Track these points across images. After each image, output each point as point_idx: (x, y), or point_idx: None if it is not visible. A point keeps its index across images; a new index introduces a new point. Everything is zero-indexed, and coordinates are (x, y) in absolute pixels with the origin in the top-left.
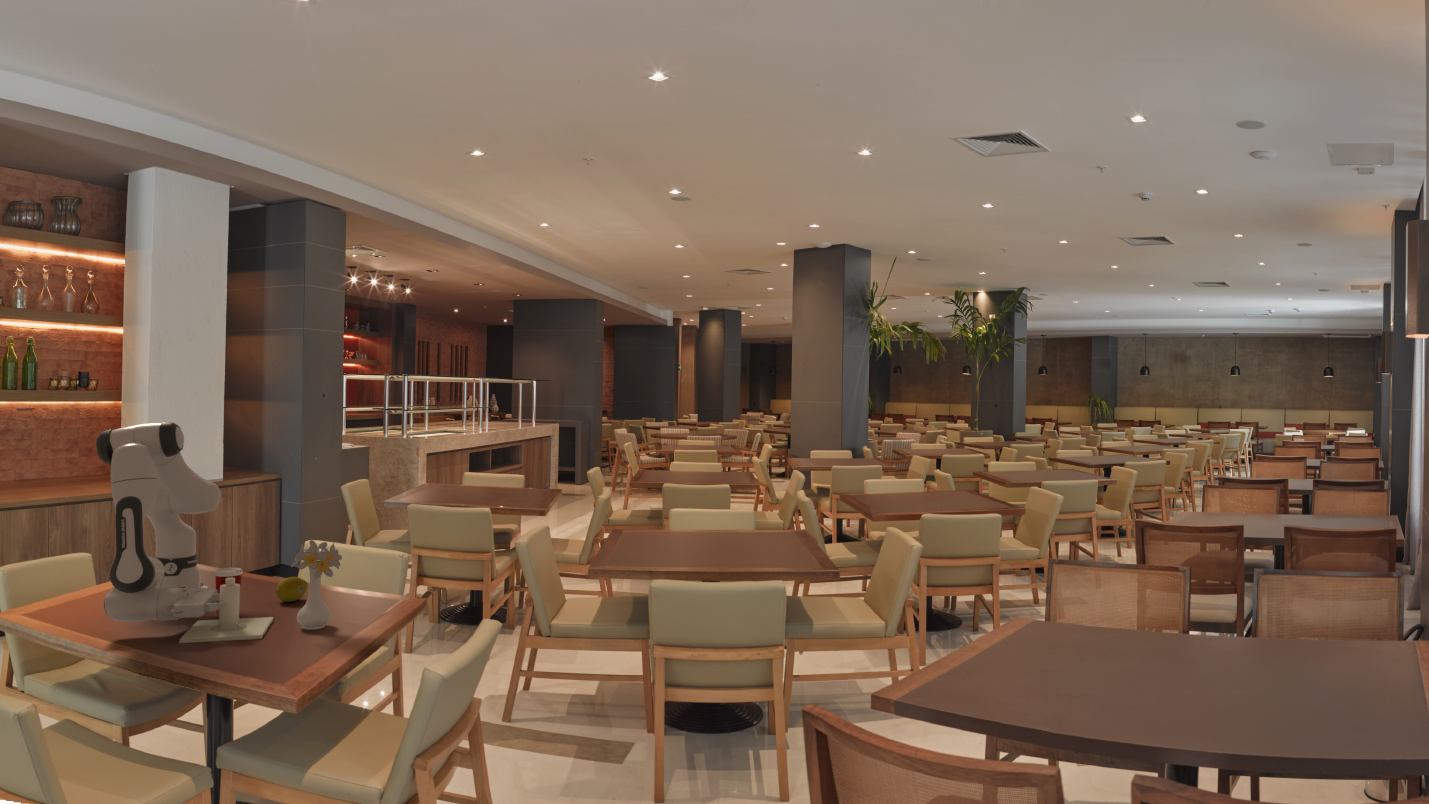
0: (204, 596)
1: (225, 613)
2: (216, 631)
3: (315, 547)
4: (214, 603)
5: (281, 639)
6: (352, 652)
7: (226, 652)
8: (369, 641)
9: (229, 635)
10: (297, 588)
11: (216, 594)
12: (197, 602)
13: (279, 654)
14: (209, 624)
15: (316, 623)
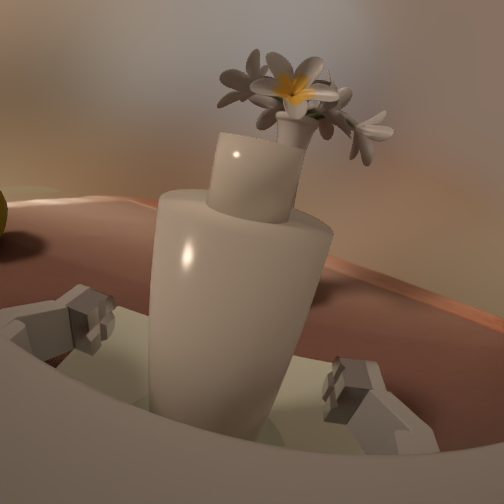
0: (168, 478)
1: (267, 416)
2: None
3: (260, 72)
4: (403, 407)
5: (361, 343)
6: (425, 291)
7: (478, 433)
8: (371, 270)
9: (353, 448)
10: (5, 208)
11: (13, 336)
12: (501, 487)
13: (461, 351)
14: None
15: None
